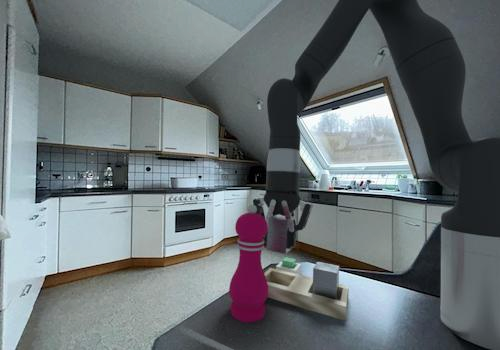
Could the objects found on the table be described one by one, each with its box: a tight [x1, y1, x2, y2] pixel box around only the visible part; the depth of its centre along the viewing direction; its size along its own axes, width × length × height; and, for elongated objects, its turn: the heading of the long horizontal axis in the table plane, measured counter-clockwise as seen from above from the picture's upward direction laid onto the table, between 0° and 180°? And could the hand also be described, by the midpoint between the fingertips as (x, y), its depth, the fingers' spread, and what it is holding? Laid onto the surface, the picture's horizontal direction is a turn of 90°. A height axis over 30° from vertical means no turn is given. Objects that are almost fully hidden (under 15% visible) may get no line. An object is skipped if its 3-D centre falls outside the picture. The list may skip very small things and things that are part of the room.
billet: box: [312, 261, 340, 300], centre depth 44 cm, size 4×4×7 cm
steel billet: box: [266, 215, 292, 255], centre depth 49 cm, size 4×4×7 cm
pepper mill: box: [228, 204, 269, 323], centre depth 40 cm, size 7×7×20 cm
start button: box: [282, 257, 297, 269], centre depth 56 cm, size 3×3×2 cm
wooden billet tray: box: [264, 267, 350, 322], centre depth 46 cm, size 18×9×3 cm, turn 63°
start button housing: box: [275, 261, 302, 275], centre depth 56 cm, size 5×5×3 cm
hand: (279, 245), depth 48 cm, fingers closed on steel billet, 4 cm apart
